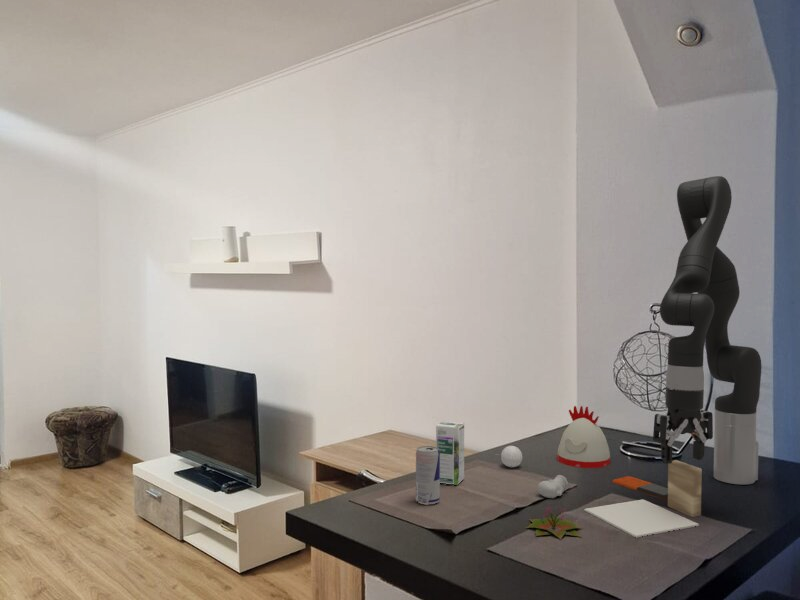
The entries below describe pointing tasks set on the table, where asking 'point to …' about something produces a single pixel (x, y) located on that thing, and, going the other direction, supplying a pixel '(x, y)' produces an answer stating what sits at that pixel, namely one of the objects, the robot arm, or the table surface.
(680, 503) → the slab
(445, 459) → the syrup box
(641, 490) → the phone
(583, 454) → the kitchen timer
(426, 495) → the energy drink
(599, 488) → the table surface
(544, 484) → the smooth white sculpture
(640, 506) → the mat
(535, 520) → the lily flower
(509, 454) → the seamed sphere
